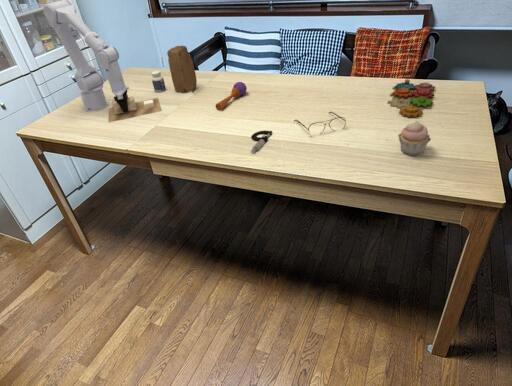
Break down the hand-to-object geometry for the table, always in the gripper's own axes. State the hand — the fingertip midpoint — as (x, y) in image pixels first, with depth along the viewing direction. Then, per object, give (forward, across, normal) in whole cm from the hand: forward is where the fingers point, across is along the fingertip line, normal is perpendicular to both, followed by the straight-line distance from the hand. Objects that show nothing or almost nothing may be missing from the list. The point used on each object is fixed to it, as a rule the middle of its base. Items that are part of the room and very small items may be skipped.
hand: (125, 109), depth 159 cm
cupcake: (+2, -79, -84) cm, 116 cm away
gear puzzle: (+2, -49, -106) cm, 117 cm away
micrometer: (+2, -51, -43) cm, 66 cm away
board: (+2, 0, -4) cm, 4 cm away
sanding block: (+1, 0, 0) cm, 1 cm away
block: (+2, +12, -29) cm, 31 cm away
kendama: (+2, -12, -44) cm, 46 cm away
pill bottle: (+2, +17, -17) cm, 24 cm away
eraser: (+1, 0, -10) cm, 10 cm away
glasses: (+2, -49, -68) cm, 84 cm away
